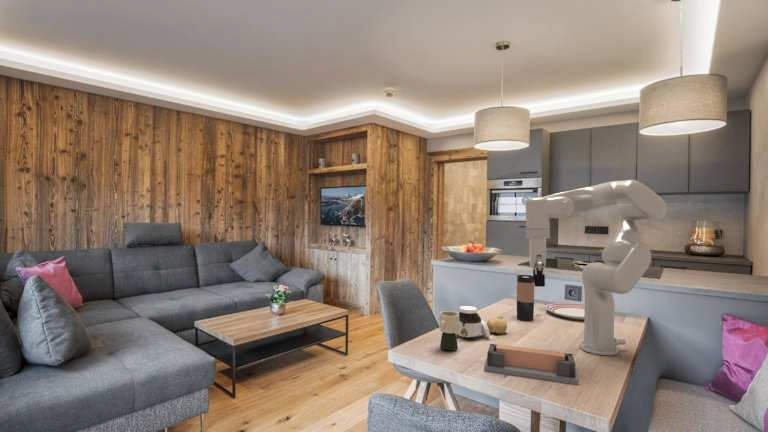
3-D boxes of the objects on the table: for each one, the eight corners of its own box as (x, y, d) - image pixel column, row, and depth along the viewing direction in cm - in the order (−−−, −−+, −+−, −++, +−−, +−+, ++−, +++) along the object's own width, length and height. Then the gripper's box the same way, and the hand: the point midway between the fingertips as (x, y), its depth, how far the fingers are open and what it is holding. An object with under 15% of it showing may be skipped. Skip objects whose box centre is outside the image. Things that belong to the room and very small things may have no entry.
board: (484, 370, 124) (484, 366, 124) (487, 358, 134) (488, 354, 134) (578, 384, 114) (578, 379, 114) (574, 370, 125) (574, 365, 125)
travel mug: (535, 318, 184) (536, 275, 184) (531, 322, 178) (532, 278, 178) (518, 316, 188) (519, 274, 188) (514, 319, 182) (515, 276, 182)
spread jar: (451, 335, 158) (452, 306, 158) (470, 330, 165) (470, 302, 165) (475, 344, 149) (475, 313, 149) (494, 338, 156) (494, 308, 155)
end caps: (487, 365, 124) (487, 352, 124) (490, 355, 133) (490, 343, 133) (575, 378, 116) (575, 364, 116) (572, 366, 124) (572, 354, 124)
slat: (495, 363, 126) (496, 347, 126) (496, 359, 129) (497, 344, 129) (564, 373, 119) (565, 356, 119) (563, 368, 122) (564, 352, 122)
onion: (499, 337, 157) (499, 319, 157) (482, 332, 163) (483, 315, 163) (510, 333, 162) (510, 316, 162) (494, 328, 168) (494, 312, 168)
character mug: (447, 343, 149) (448, 308, 149) (464, 347, 145) (465, 312, 145) (432, 351, 141) (432, 314, 141) (450, 355, 136) (450, 318, 136)
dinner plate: (548, 320, 183) (548, 313, 183) (543, 306, 209) (543, 300, 209) (615, 325, 175) (615, 318, 175) (601, 310, 201) (601, 304, 201)
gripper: (525, 231, 145) (526, 278, 145) (526, 235, 128) (527, 288, 129) (547, 231, 142) (548, 278, 143) (551, 235, 126) (552, 289, 126)
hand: (538, 283), depth 136 cm, fingers open, 9 cm apart
